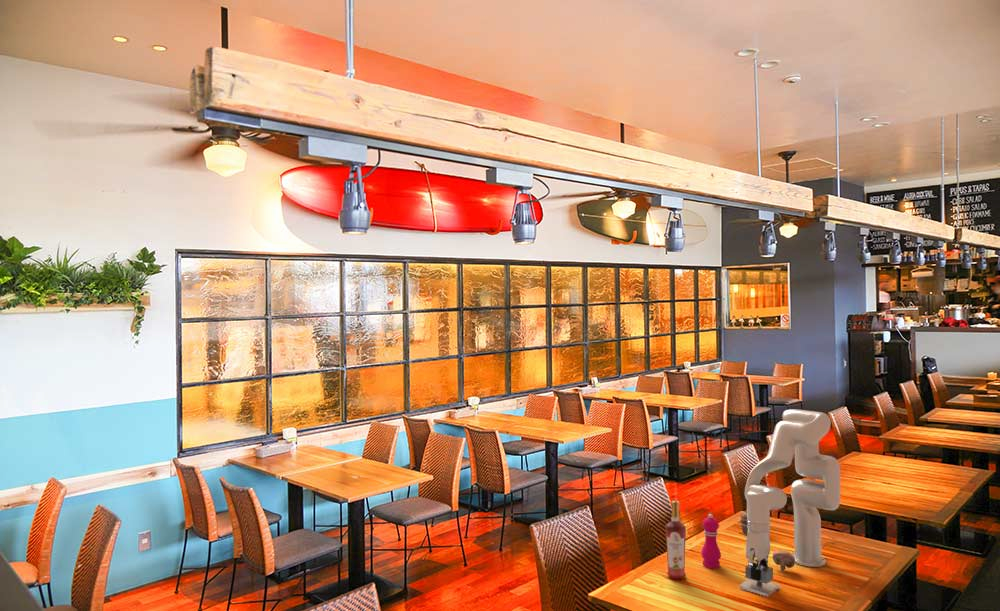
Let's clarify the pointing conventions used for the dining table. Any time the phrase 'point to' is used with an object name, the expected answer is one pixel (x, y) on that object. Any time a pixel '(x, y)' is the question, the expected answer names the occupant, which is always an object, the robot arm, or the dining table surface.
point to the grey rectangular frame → (761, 573)
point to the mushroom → (784, 559)
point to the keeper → (759, 587)
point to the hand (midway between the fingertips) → (759, 576)
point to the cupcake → (744, 522)
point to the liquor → (675, 545)
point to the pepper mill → (711, 543)
